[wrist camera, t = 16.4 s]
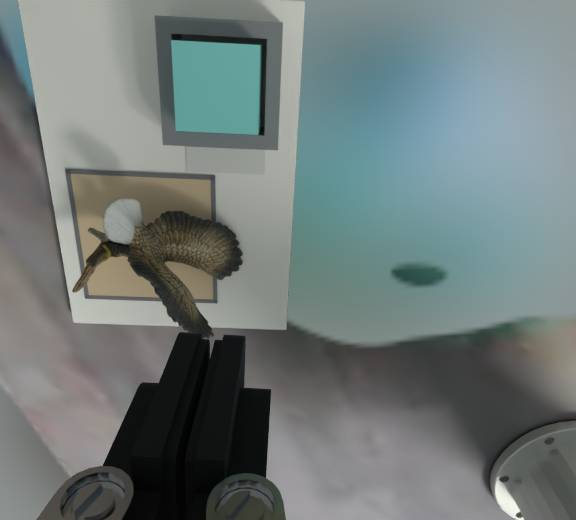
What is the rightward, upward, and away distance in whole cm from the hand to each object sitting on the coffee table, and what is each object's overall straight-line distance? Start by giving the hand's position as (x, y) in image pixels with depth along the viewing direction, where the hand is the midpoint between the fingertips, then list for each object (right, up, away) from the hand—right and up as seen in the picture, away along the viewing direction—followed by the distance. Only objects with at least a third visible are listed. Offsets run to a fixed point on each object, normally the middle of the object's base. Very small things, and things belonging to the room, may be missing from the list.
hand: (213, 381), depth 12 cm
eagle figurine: (-6, +4, +21) cm, 22 cm away
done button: (-2, +13, +15) cm, 20 cm away
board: (-6, +8, +19) cm, 22 cm away
